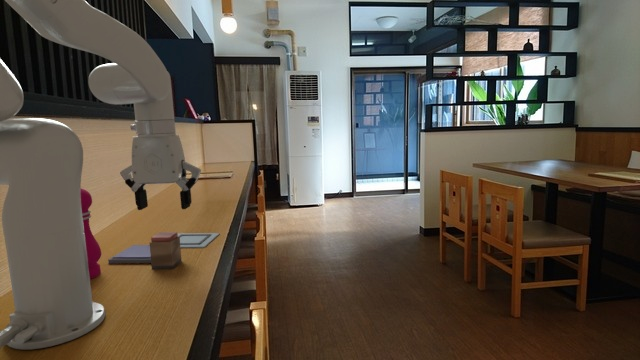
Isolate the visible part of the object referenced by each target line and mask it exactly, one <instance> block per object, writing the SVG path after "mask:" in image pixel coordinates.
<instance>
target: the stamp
mask: <svg viewBox="0 0 640 360" xmlns="http://www.w3.org/2000/svg"><path fill="white" fill-rule="evenodd" d="M150 238H151V239H150V240H151V241H150V242H149V245H150V254H151V270H173V269H175V268H176V267H177V266H179V264H181V263H182V248H181V247H180V236H178V232H177V231H170V232H169V231H162V232H161V231H160V232H157V234H155V235H152V236H151V237H150Z"/></svg>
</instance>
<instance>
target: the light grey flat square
mask: <svg viewBox="0 0 640 360" xmlns="http://www.w3.org/2000/svg"><path fill="white" fill-rule="evenodd" d="M177 234H178V236H180V247H181V249H184V248H186V249H188V248H189V249H197V248H198V249H201V248H202V249H203V248H206V247H207V246H208V245H209V244H211V242H212V241H213V240H214V239H216V238H217V237H218V236H219V235H220V233H219V232H209V233H208V232H204V233H203V232H199V233H198V232H197V233H195V232H193V233H191V232H190V233H187V232H183V233H179V232H177Z"/></svg>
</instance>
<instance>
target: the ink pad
mask: <svg viewBox="0 0 640 360" xmlns="http://www.w3.org/2000/svg"><path fill="white" fill-rule="evenodd" d="M107 262H108V264H109V265H110V264H111V265H115V264H116V265H118V264H119V263H120V264H121V263H151V254H150V244H132V245H131V246H128V247H127V248H125V249H124V250H122V251H120V252H119V253H117V254H115V255H114V256H112V257H110V258H109V259H107ZM120 264H119V265H120Z"/></svg>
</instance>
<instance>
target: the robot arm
mask: <svg viewBox="0 0 640 360" xmlns="http://www.w3.org/2000/svg"><path fill="white" fill-rule="evenodd" d="M4 1H5V2H6V3H7V5H9V6H10V7H11V8H12V9H13V10H14V11H15V12H16V13H17V14H18V15H19V16H21V18H22V19H23V20H25V22H26V23H28V24H29V25H30V26H31V28H33V29H34V30H35V31H36V32H37V33H38V34H39V35H40V36H41V37H43V38H44V39H46V40H48V41H51V42H54V43H56V44H60V45H62V46H64V47H69V48H72V49H76V50H80V51H84V52H86V53H91V54H94V55H97V56H99V57H102V58H103V59H107V60H108V61H110V62H111V63H110V62H109V63H105V64H101V65H98V66H96V67H95V68H94V69H93V70H92V71H91V72H90V73H89V76H88V87H89V90H90V91H91V93H92V95H93V96H94V97H95V98H97V99H98V100H99V101H101V102H102V103H105V104H110V105H132V104H133V110H134V117H135V118H134V119H135V120H134V123H133V124H130V130H131V131H135V132H136V133H135V134H137V135H136V136H132V146H131V165H129V166H127V167H125V168H124V169H122V170H121V171H120V172H119V174H120V176H121V178H123V180H124V183H125V185H127V186H128V187H129V188H130V190H131V192H133V193H134V200H135V205H136V207H137V208H136V209H137V210H138V211H142V210H144V209H146V208H147V207H148V206H149V204H148V196H147V195H148V194H147V193H148V192H147V190H146V189H145V186H146V185H151V184H152V185H157V184H158V185H159V184H160V185H162V184H174V183H175V184H176V185H177V186H179V187H180V189H181V191H180V192H179V197H180V205H181V206H180V208H181V209H182V210H186V209H188V208H190V207H191V204H192V193H191V192H192V191H191V189H193V186H195V184H197V182H198V181H199V177H200V175H201V173H202V169H201V168H199V167H197V166H195V165H193V164H191V163H189V162H187V161H186V157H185V153H184V149H183V144H182V141H181V138H180V136H179V134H177V132H176V122H175V112H174V101H173V90H172V80H171V75H170V72H169V71H167V68H166V66H165V65H164V63H163V61H162V60H161V59H160V57H159V56H158V54H157V53H156V52H155V50H154V49H153V48H152V47H151V45H150V44H149V43H148V42H147V41H146V40H145V39H144V38H143V37H142V36H141V35H140V34H138V33H137V32H136V31H134V30H133V29H131V28H129V27H128V26H127V25H126V24H123V23H121V22H120V21H119V20H117V19H115V18H113V17H112V16H110V15H108V14H107V13H105V12H103V11H101V10H100V9H98V8H96V7H93V6H92V5H91V4H89V3H88V2H87V1H86V0H4ZM24 98H25V97H24V91H23V89H22V86H21V84H20V82H19V81H18V80H17V78H16V76H15V74H14V73H13V72H12V71H11V70H10V69H9V67H8V66H7V65H6V64H5V62H4V61H3V60H2V59H1V58H0V185H3V186H4V185H8V187H7V188H8V189H7V192H6V195H5V198H4V201H3V205H2V211H1V224H2V225H1V226H2V233H3V236H4V243H5V251H6V256H7V263H8V269H9V271H8V272H9V277H10V283H11V284H10V285H11V290H12V291H11V292H12V298H13V305H14V312H12V313H10V314H9V321H10V322H9V323H7V324H6V326H5V328H4V329H1V330H0V349H1V348H3V347H5V346H6V345H7V346H8V347H9V348H12V349H15V350H21V351H22V350H38V349H44V348H49V347H53V346H57V345H62V344H64V343H67V342H69V341H73V340H75V339H77V338H80V337H82V336H83V335H85V334H88V333H90V332H91V331H93V330H94V329H96V328H97V327H98V326H99V325H100V324H101V323H102V322H103V321H104V319H105V317H106V309H105V306H103V304H101V303H98V302H95V301H93V297H92V295H93V294H92V288H91V279H90V277H89V268H88V259H87V251H86V242H85V233H84V225H83V217H82V208H81V189H82V188H81V187H82V186H81V184H82V175H83V173H82V172H83V166H84V165H83V164H84V149H83V145H82V142H81V140H80V138H79V136H78V135H77V134H76V132H75V131H74V130H72V128H70V127H69V126H67V125H66V124H64V123H61V122H59V121H56V120H53V119H47V118H41V117H40V118H39V117H38V118H36V117H35V118H34V117H32V118H31V117H29V118H27V117H26V118H25V117H24V118H13V117H14V116H16V115H17V114H18V113H19V112H20V110H21V109H22V108H23V106H24ZM187 172H190V173H191V177H190V178H189V179H188V178H187Z"/></svg>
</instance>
